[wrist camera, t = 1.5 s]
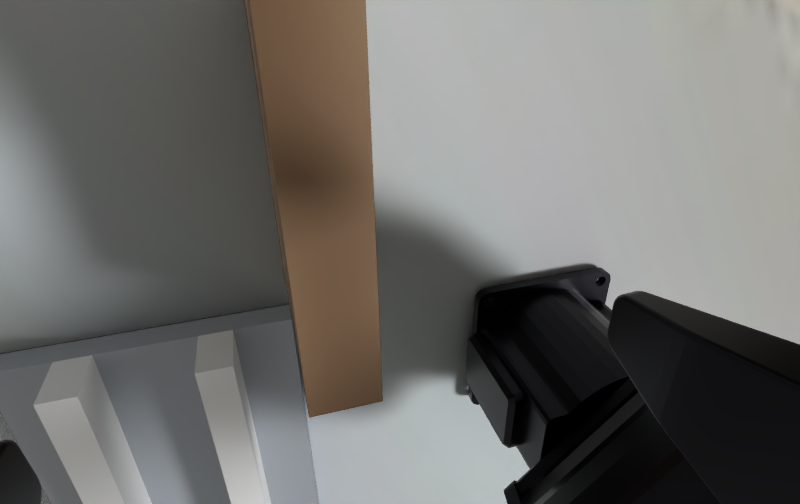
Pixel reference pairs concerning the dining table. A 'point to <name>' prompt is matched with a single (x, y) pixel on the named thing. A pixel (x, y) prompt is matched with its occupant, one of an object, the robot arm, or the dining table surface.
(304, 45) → the door panel
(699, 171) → the dining table surface
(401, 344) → the dining table surface
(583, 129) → the dining table surface
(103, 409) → the track board
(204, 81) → the dining table surface
